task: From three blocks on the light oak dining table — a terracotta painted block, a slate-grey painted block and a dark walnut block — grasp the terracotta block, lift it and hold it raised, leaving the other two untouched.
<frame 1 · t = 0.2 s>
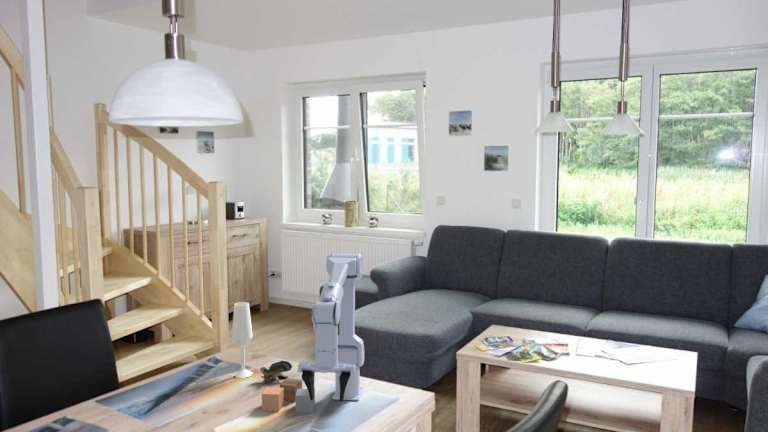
hand: (327, 399, 152), 10 cm above the table, tool pointing down, fingers open, 7 cm apart
terracotta block: (273, 407, 171), on the table
champagne flute: (243, 375, 196), on the table
walnut block: (291, 398, 178), on the table
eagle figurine: (275, 381, 191), on the table
slate grey block: (305, 408, 170), on the table
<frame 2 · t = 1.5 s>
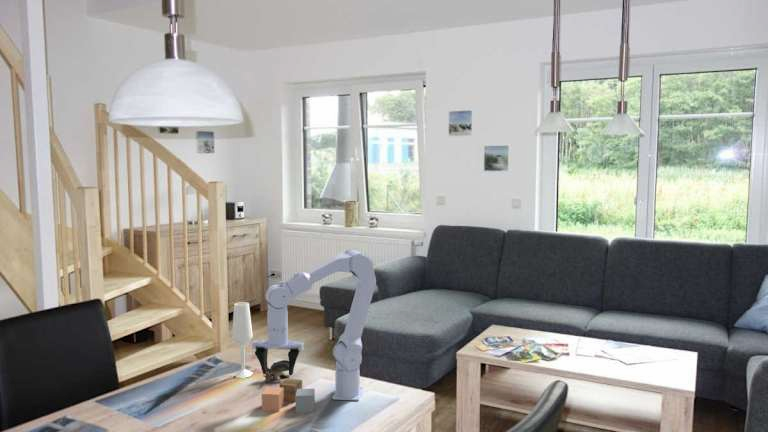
hand: (278, 373, 171), 10 cm above the table, tool pointing down, fingers open, 7 cm apart
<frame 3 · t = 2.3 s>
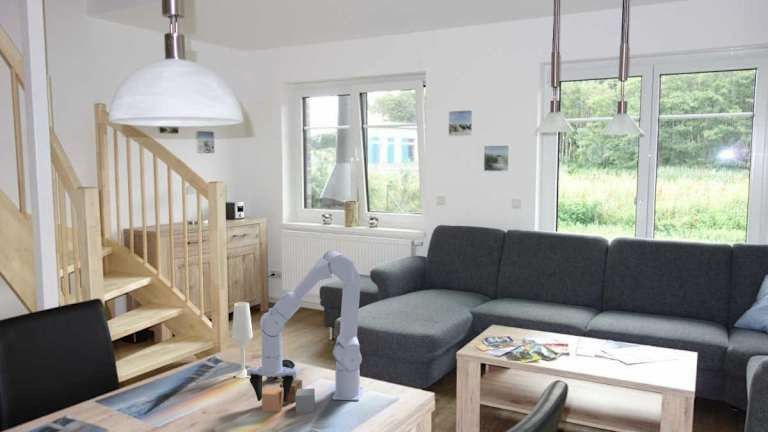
hand: (272, 400, 171), 2 cm above the table, tool pointing down, fingers open, 7 cm apart
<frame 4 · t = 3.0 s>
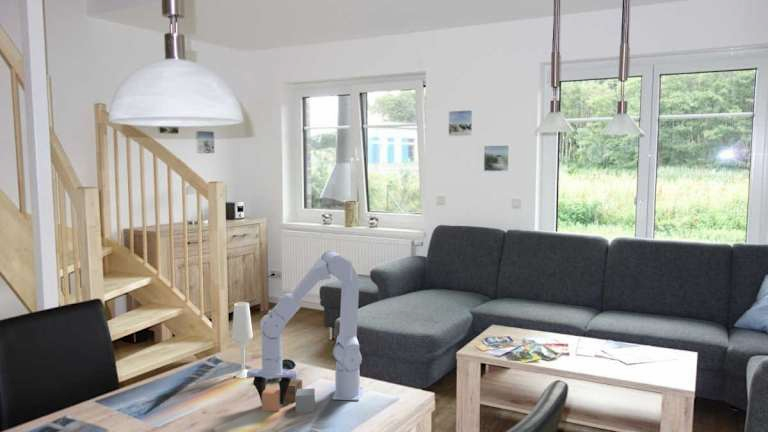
hand: (273, 402, 171), 1 cm above the table, tool pointing down, fingers closed on terracotta block, 5 cm apart
terracotta block: (273, 407, 171), on the table, touching gripper
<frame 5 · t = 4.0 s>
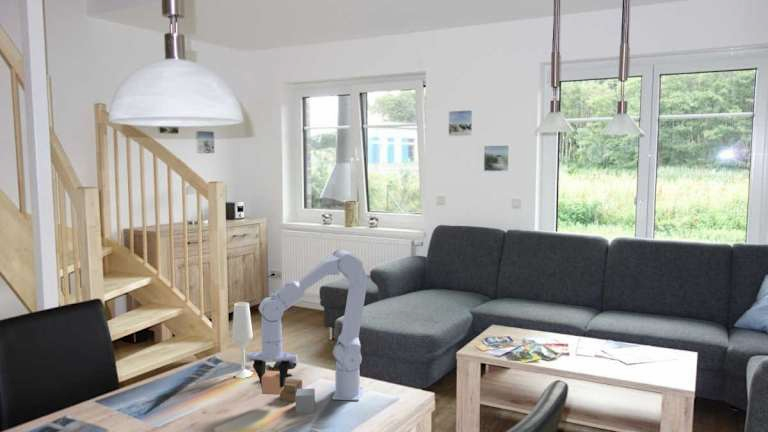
hand: (272, 385, 171), 6 cm above the table, tool pointing down, fingers closed on terracotta block, 5 cm apart
terracotta block: (273, 390, 171), point 5 cm above the table, touching gripper
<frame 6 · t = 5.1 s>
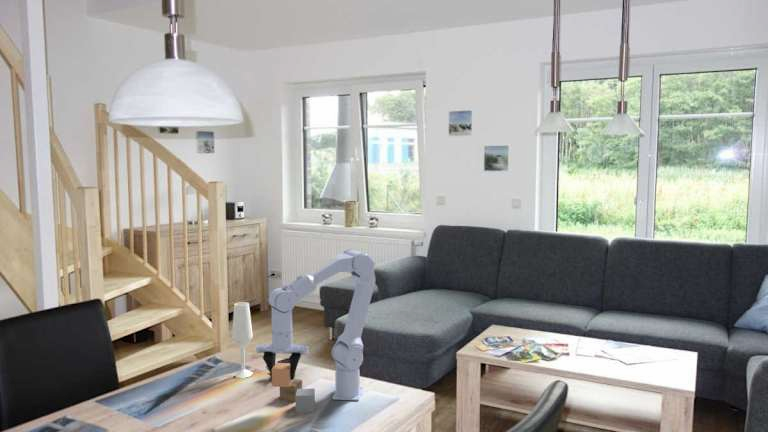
hand: (283, 378, 168), 9 cm above the table, tool pointing down, fingers closed on terracotta block, 5 cm apart
terracotta block: (283, 383, 169), point 8 cm above the table, touching gripper
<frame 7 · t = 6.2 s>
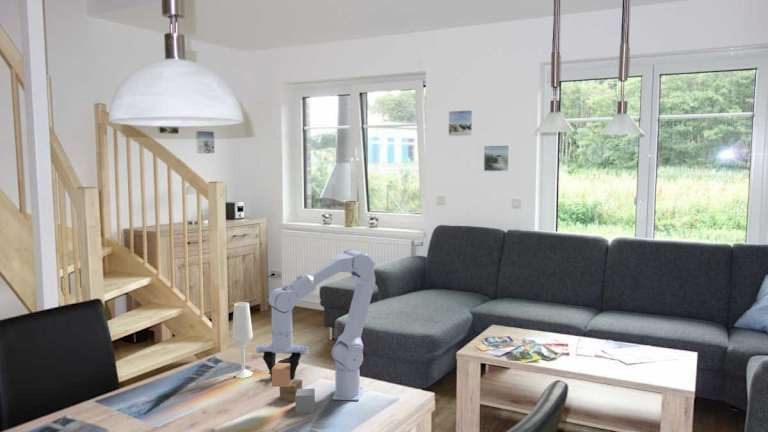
hand: (283, 378, 168), 9 cm above the table, tool pointing down, fingers closed on terracotta block, 5 cm apart
terracotta block: (283, 383, 169), point 8 cm above the table, touching gripper
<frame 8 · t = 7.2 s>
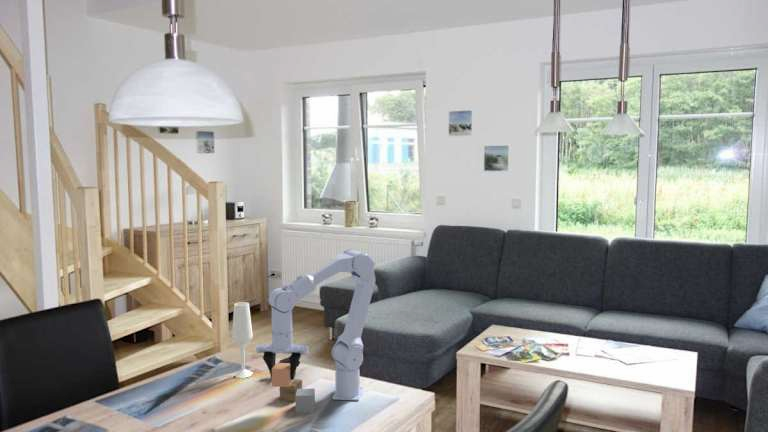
hand: (283, 378, 168), 9 cm above the table, tool pointing down, fingers closed on terracotta block, 5 cm apart
terracotta block: (283, 383, 169), point 8 cm above the table, touching gripper
at the end: the gripper is holding terracotta block; terracotta block point 7.9 cm above the table; slate grey block moved 0.1 cm from its start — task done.
